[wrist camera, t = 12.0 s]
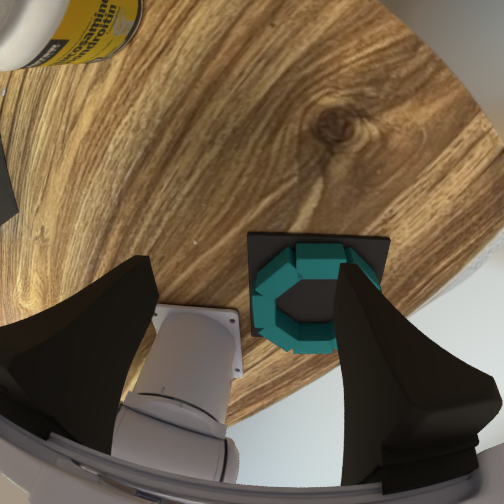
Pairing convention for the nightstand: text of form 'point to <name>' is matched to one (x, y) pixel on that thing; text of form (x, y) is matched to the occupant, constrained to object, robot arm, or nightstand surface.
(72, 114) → the nightstand surface
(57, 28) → the pill bottle
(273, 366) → the nightstand surface
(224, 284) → the nightstand surface
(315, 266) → the ring
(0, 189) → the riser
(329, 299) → the mat
